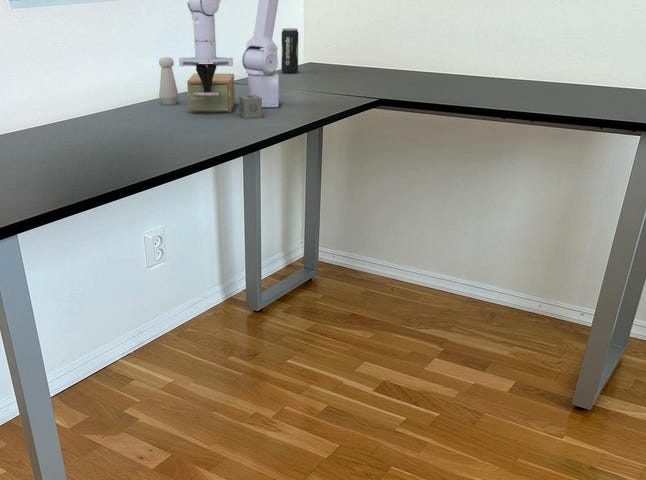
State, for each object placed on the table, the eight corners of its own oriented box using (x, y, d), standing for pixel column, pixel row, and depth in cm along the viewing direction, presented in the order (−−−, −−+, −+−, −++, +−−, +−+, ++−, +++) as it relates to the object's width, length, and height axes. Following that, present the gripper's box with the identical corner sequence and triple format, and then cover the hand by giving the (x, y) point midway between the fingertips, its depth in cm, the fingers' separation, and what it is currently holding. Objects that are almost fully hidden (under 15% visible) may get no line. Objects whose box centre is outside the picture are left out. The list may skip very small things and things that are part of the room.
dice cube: (256, 113, 201) (256, 95, 198) (261, 116, 197) (261, 98, 194) (239, 114, 199) (239, 96, 197) (244, 118, 195) (244, 99, 193)
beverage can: (280, 73, 264) (280, 29, 256) (282, 71, 269) (282, 28, 261) (296, 74, 263) (297, 30, 255) (299, 71, 268) (299, 28, 260)
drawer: (226, 114, 196) (225, 88, 192) (187, 114, 196) (186, 88, 193) (232, 102, 211) (231, 78, 207) (195, 102, 211) (194, 78, 208)
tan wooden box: (231, 112, 202) (229, 81, 198) (189, 112, 202) (187, 81, 198) (234, 103, 214) (233, 73, 209) (195, 103, 214) (193, 73, 210)
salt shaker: (175, 105, 211) (171, 59, 205) (157, 105, 212) (153, 58, 206) (181, 102, 216) (178, 56, 210) (163, 101, 217) (160, 56, 211)
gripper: (175, 42, 186) (179, 96, 193) (230, 42, 186) (232, 96, 192) (179, 39, 192) (183, 91, 199) (232, 39, 192) (234, 91, 199)
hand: (207, 93), depth 196 cm, fingers closed
